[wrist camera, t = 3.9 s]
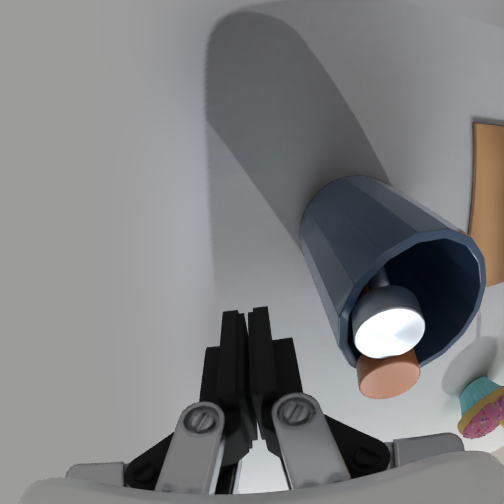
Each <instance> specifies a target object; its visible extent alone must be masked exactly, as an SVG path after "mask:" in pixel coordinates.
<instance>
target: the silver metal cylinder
mask: <svg viewBox="0 0 504 504" xmlns="http://www.w3.org/2000/svg"><path fill="white" fill-rule="evenodd" d="M367 284H368V289H369V292H368V293H366V294H365V295H364V296H362V297H361V298H360V299H359V300H358V302H357V303H356V305H355V307H354V308H353V311H352V327H353V337H354V343H355V346H356V348H357V349H358V350H359V351H360V352H361V353H362V354H364V355H366V356H368V357H371V358H377V359H386V358H392V357H396V356H399V355H401V354H403V353H406V352H407V351H409V350H410V349H412V348H413V347H414V346H415V345H416V344H417V343H418V342H419V341H420V340H421V338H422V336H423V334H424V331H425V320H424V318H423V315H422V312H421V309H420V306H419V303H418V301H417V298H416V296H415V295H414V294H413V293H412V292H411V291H410V290H408V289H407V288H404V287H401V286H396V285H390V284H389V281H388V278H387V275H386V271H385V268H384V265H383V267H382V268H381V269H380V270H379V271H378V272H377V273H376V274H375V275H374V276H373V277H372V278H371V280H370V281H369V282H368V283H367Z"/></svg>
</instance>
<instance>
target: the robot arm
mask: <svg viewBox="0 0 504 504" xmlns="http://www.w3.org/2000/svg"><path fill="white" fill-rule="evenodd" d="M257 422H258V426H259V430H260V434H261V438H262V440H264V439H265V440H266V444H267V448H268V451H270V452H271V453H273V454H274V455H276V456H278V457H279V458H280V462H281V466H282V469H283V472H284V476H285V479H286V483H287V486H288V489H289V490H287V491H278V492H267V493H253V494H237V489H238V484H239V478H240V472H241V467H242V458H243V457H244V456H245V455H246V454H247V453H249V449H250V448H252V441H253V440H257V439H258V435H257ZM19 504H504V466H503V464H502V463H501V462H500V461H499V460H498V459H497V458H496V457H495V456H493V455H492V454H490V453H487V452H483V451H465V450H464V445H463V442H462V440H461V438H460V437H458V436H457V435H456V434H453V433H440V434H434V435H427V436H420V437H412V438H404V439H394V440H393V442H386V443H383V442H382V441H380V440H378V439H376V438H373V437H371V436H369V435H367V434H365V433H362V432H360V431H358V430H356V429H354V428H351V427H349V426H347V425H345V424H343V423H341V422H339V421H337V420H335V419H333V418H331V417H329V416H327V415H325V414H323V412H322V410H321V407H320V405H319V403H318V402H317V400H316V399H315V398H313V397H312V396H310V395H307V394H305V393H303V390H302V384H301V379H300V374H299V369H298V364H297V359H296V353H295V348H294V343H293V339H292V338H285V339H278V340H272V335H271V328H270V321H269V313H268V306H266V307H258V308H253V312H249V313H248V332H247V327H246V321H245V316H244V313H241V314H239V313H238V310H234V311H225V312H223V316H222V327H221V339H220V346H217V347H207V349H206V352H205V360H204V367H203V375H202V383H201V391H200V399H199V402H197V403H194V404H192V405H190V406H188V407H187V408H186V409H185V410H184V411H183V412H182V414H181V415H180V417H179V420H178V424H177V426H176V429H175V432H173V433H172V434H170V435H169V436H168V437H166V438H165V439H163V440H162V441H160V442H159V443H158V444H156V445H155V446H153V447H152V448H150V449H149V450H147V451H146V452H145V453H143V454H142V455H140V456H138V457H137V458H135V459H134V460H133V461H132V462H130V463H128V464H125V463H124V462H112V463H92V464H77V465H74V466H72V467H70V469H69V470H68V471H67V474H66V477H65V478H49V479H44V480H40V481H37V482H34V483H32V484H31V485H30V486H29V487H28V488H27V489H26V490H25V492H24V493H23V495H22V497H21V499H20V501H19Z"/></svg>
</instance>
